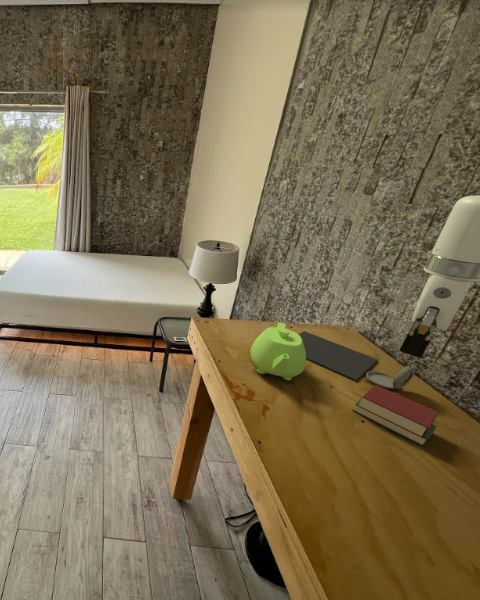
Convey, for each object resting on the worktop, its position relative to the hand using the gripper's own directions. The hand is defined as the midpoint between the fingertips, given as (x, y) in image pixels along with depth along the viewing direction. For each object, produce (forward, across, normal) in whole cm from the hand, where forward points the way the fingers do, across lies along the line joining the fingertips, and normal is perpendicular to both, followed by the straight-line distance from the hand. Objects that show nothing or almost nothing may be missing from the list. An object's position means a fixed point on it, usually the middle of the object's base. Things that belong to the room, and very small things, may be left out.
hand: (414, 345), depth 65 cm
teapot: (+20, +2, +23) cm, 31 cm away
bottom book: (+20, +1, -2) cm, 20 cm away
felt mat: (+20, +21, +16) cm, 33 cm away
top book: (+18, +1, -2) cm, 18 cm away
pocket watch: (+20, +16, +1) cm, 26 cm away
